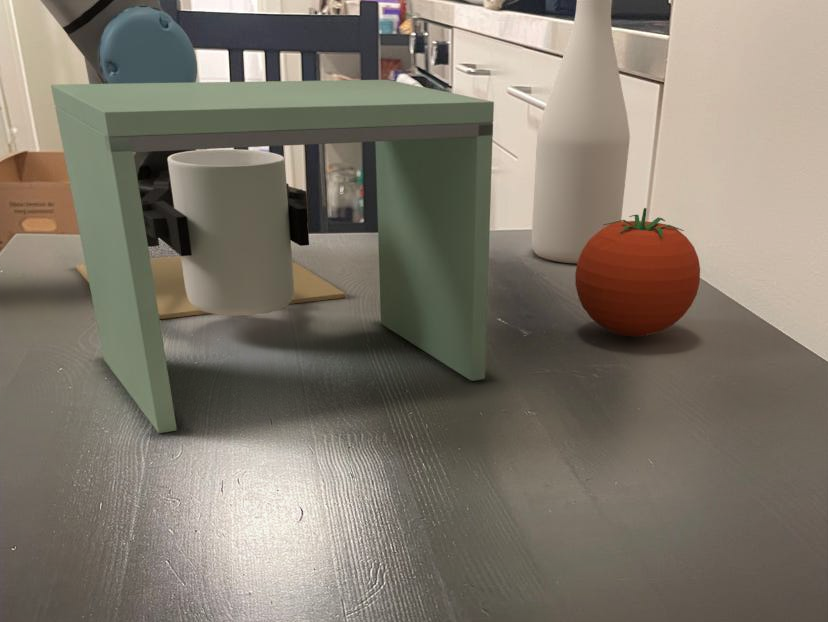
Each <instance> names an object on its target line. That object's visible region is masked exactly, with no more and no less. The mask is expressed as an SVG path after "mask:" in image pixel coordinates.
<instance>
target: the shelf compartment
mask: <svg viewBox="0 0 828 622" xmlns="http://www.w3.org/2000/svg"><path fill="white" fill-rule="evenodd" d="M50 88H51V93H52V99H53V103H54V106H55V107H54V109H55V114H56V118H57V123H58V129H59V135H60V140H61V144H62V150H63V154H64V161H65V166H66V170H67V171H66V172H67V176H68V179H69V180H68V182H69V186H70V191H71V196H72V203H73V207H74V212H75V217H76V222H77V227H78V233H79V237H80V243H81V249H82V254H83V259H84V263H85V264H86V269H87V274H88V279H89V282H88V285H89V288H90V294H91V299H92V304H93V310H94V316H95V321H96V326H97V330H98V336H99V341H100V347H101V350H102V351H101V352H102V356H103V361H104V362H105V363H106V364H107V366H108V367H109V369H110V370H111V372H112V373H113V374H114V375H115V377H116V378H117V379H118V381H119V382H120V383H121V385H122V386H123V388H124V389H125V390H126V391H127V393H128V394H129V395H130V397H131V399H133V401H134V402H135V404H136V405H137V406H138V408H139V409H140V411H142V413H143V414H144V416H145V417H146V419H147V420H148V421H149V423H150V424H151V425H152V427H153V428H154V429H155V430H156V431H157V433H158V434H164V433H170V432H176V431H177V430H178V428H177V422H176V421H177V420H176V416H175V410H174V409H175V408H174V402H173V396H172V391H171V390H172V388H171V383H170V376H169V371H168V364H167V357H166V351H165V345H164V339H163V333H162V327H161V325H162V324H161V321H160V320H161V319H159V313H158V306H157V300H156V294H155V287H154V281H153V274H152V268H151V262H150V259H151V256H150V250H149V247H148V243H147V236H146V230H145V224H144V217H143V211H142V204H141V198H140V192H139V185H138V179H137V173H136V166H135V160H134V154H133V152H151V151H173V150H212V149H235V148H236V149H238V148H239V149H241V148H259V147H260V148H261V147H263V148H264V147H282V146H283V147H285V146H303V145H305V146H306V145H307V146H308V145H327V144H329V145H330V144H331V145H333V144H350V143H351V144H352V143H353V144H355V143H374V142H375V143H374V144H375V173H376V174H375V175H376V177H375V178H376V207H377V209H376V210H377V241H378V243H377V244H378V271H379V272H378V273H379V274H378V275H379V277H378V278H379V306H380V307H379V308H380V309H379V311H380V325H382V326H383V327H386V328H387V329H388V330H390V331H392V332H393V333H395V334H396V335H397V336H399V337H401V338H403V339H404V340H406V341H407V342H409V343H410V344H412V345H414V346H415V347H417V348H419V349H420V350H422V351H423V352H425V354H426V353H427V354H428V355H429V356H431V357H432V358H434V359H436V360H437V361H439V362H441V363H442V364H444V365H445V366H447V367H448V368H450V369H452V370H453V371H455V372H456V373H458V374H460V375H461V376H463V377H464V378H466V379H468V380H469V381H471V382H474V381H481V380H485V379H486V362H487V361H486V360H487V359H486V357H487V355H486V354H487V325H488V298H489V297H488V295H489V293H488V292H489V264H490V261H489V260H490V231H491V201H492V200H491V199H492V170H493V169H492V165H493V140H494V139H493V137H494V110H495V109H494V108H495V102H494V100H493V101H492V100H487V99H482V98H477V97H474V96H473V97H472V96H468V95H464V94H459V93H453V92H449V91H444V90H440V89H434V88H430V87H424V86H421V85H420V86H419V85H414V84H410V83H405V82H400V81H395V80H391V79H343V80H341V79H340V80H335V79H334V80H333V79H332V80H274V81H272V80H271V81H266V80H265V81H211V82H210V81H208V82H207V81H206V82H205V81H204V82H199V81H198V82H197V81H196V83H127V84H89V83H71V84H70V83H68V84H66V83H64V84H50Z"/></svg>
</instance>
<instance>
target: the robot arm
mask: <svg viewBox="0 0 828 622" xmlns="http://www.w3.org/2000/svg"><path fill="white" fill-rule="evenodd" d="M40 2H41V3H42V4H43V5H44V7H45V8H46V9H47V11H48V12H49V13H50V15H51V16H52V17H53V18H54V20H55V21H56V22H57V23H58V24H59V26H60V27H61V28H62V29H63V31H64V32H65V34H66V35H67V37H68V38H69V39H70V41H71V42H72V43H73V44H74V46H75V47H76V48H77V49H78V51H79V52H80V53H81V55H82V56H83V58H84V63H85V69H86V73H87V79H88V84H127V83H196V82H197V78H198V61H197V56H196V51H195V48H194V46H193V44H192V41H191V40H190V38H189V36H188V34H187V33H186V32H185V30H184V29H183V28H182V26H181V25H180V23H179V22H178V21H177V20H176V19H175V18H174V17H172V16H171V15H170V14H169V13H167V11H164V9H163V8H162V6H161V2H160V0H40ZM196 150H197V149H196ZM196 150H173V151H151V152H133V154H134V160H135V166H136V173H137V179H138V185H139V192H140V198H141V204H142V211H143V217H144V224H145V230H146V236H147V243H148V248H151V247H158V246H160V240H161V241H162V242H163V243H164V244H166V245H167V246H168V247H169V248H170V249H172V250H173V251H174V252H176V253H177V254H178V255H179V256H190V255H192V254H191V246H190V239H189V231H188V223H187V217H186V216H185V215H183V214H182V213H181V212H179V211H178V210H176V209H175V208H174V203H173V196H172V188H171V181H170V174H169V166H168V157H169V156H170V155H173V154H177V153H181V152H187V151H196ZM286 186H287V199H288V212H289V225H290V238H291V242H293V243H295V244H296V245H298V246H300V247H304V246H310V236H309V203H308V194H307V193H308V191H306V190H303V189H300V188H296V187H293V186H291V185H289V183H288V182H286ZM159 239H160V240H159Z"/></svg>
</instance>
